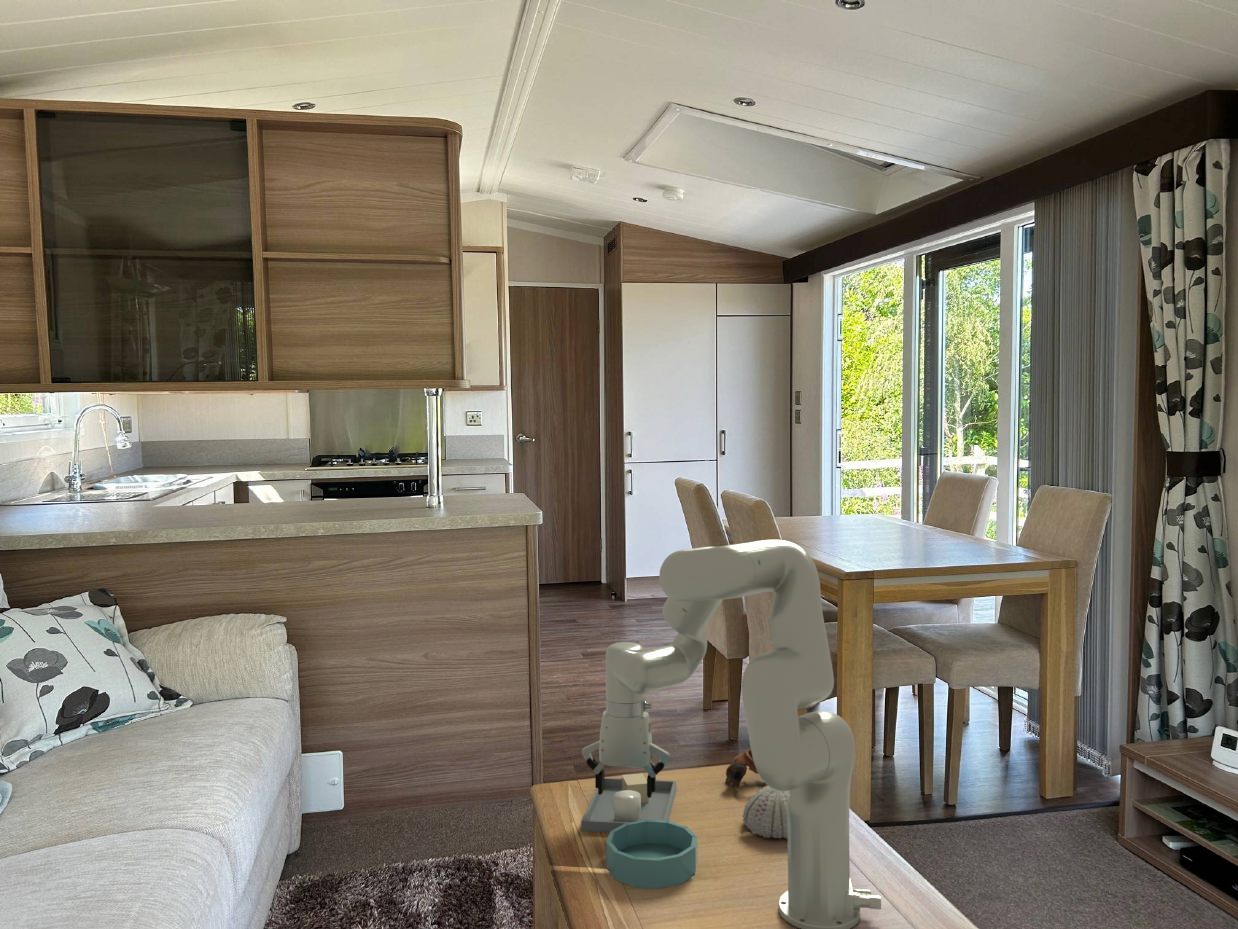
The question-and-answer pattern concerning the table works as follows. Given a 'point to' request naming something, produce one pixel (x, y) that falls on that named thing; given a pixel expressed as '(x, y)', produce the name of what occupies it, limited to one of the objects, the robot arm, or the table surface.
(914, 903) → the table surface
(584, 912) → the table surface
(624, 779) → the sand stone
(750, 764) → the brown animal figurine
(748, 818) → the sea urchin shell
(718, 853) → the table surface
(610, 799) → the parts tray
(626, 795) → the pale stone
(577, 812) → the table surface
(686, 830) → the bowl
